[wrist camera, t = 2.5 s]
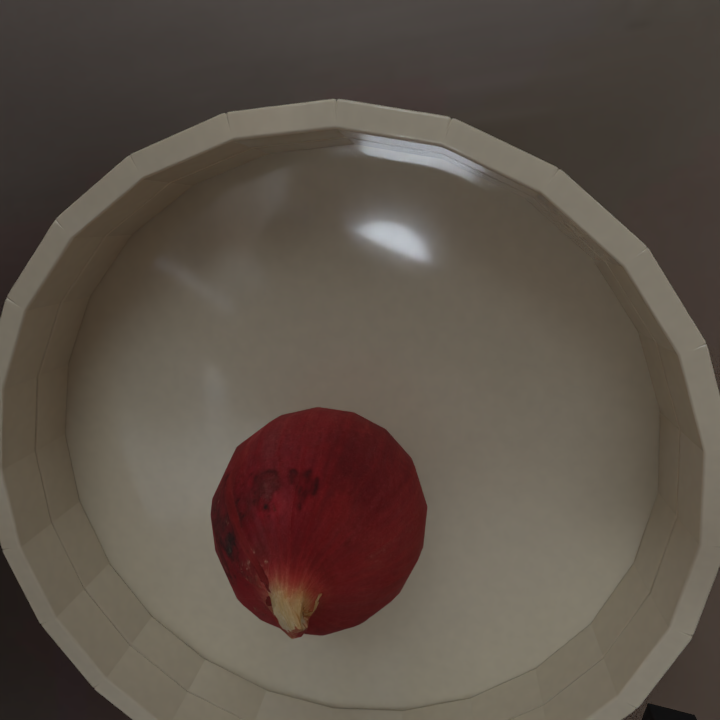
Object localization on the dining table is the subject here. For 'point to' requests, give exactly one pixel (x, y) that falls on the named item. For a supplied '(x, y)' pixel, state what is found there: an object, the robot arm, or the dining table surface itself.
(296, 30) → the dining table surface
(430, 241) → the cream bowl
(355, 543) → the onion
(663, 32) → the dining table surface
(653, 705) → the robot arm
